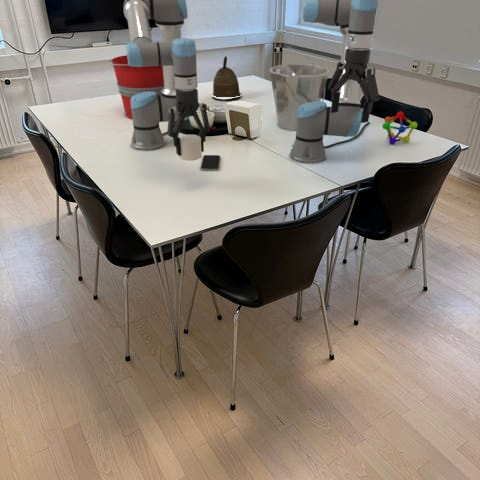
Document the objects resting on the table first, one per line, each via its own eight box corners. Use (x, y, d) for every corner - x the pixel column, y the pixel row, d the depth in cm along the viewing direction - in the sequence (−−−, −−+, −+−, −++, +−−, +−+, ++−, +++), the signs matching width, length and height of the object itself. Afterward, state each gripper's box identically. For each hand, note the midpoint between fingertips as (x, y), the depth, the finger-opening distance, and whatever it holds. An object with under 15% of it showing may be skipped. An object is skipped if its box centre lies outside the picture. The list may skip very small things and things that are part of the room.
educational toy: (377, 146, 209) (379, 114, 202) (384, 138, 219) (386, 107, 211) (411, 149, 202) (415, 116, 195) (417, 141, 212) (420, 109, 204)
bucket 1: (125, 104, 265) (117, 50, 249) (183, 105, 264) (179, 51, 248) (108, 122, 236) (99, 62, 220) (174, 123, 235) (169, 63, 219)
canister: (196, 161, 158) (195, 143, 155) (175, 159, 161) (174, 140, 157) (204, 154, 165) (204, 135, 161) (184, 151, 167) (183, 133, 164)
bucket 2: (296, 138, 215) (301, 78, 201) (255, 124, 234) (256, 68, 219) (335, 125, 232) (342, 70, 217) (294, 113, 251) (297, 61, 236)
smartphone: (200, 168, 181) (203, 155, 194) (200, 170, 182) (203, 156, 194) (218, 168, 181) (220, 155, 194) (218, 170, 182) (220, 156, 194)
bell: (227, 105, 294) (202, 96, 282) (238, 66, 289) (213, 55, 277) (243, 108, 280) (217, 98, 268) (255, 66, 275) (229, 55, 263)
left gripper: (160, 94, 143) (166, 160, 155) (219, 87, 151) (220, 151, 163) (153, 89, 149) (159, 153, 161) (210, 83, 157) (212, 144, 169)
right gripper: (321, 44, 143) (314, 110, 154) (382, 55, 126) (370, 128, 137) (337, 42, 147) (330, 106, 158) (399, 53, 129) (386, 124, 141)
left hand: (190, 152), depth 162 cm, fingers closed on canister, 8 cm apart
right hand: (348, 117), depth 148 cm, fingers open, 13 cm apart
